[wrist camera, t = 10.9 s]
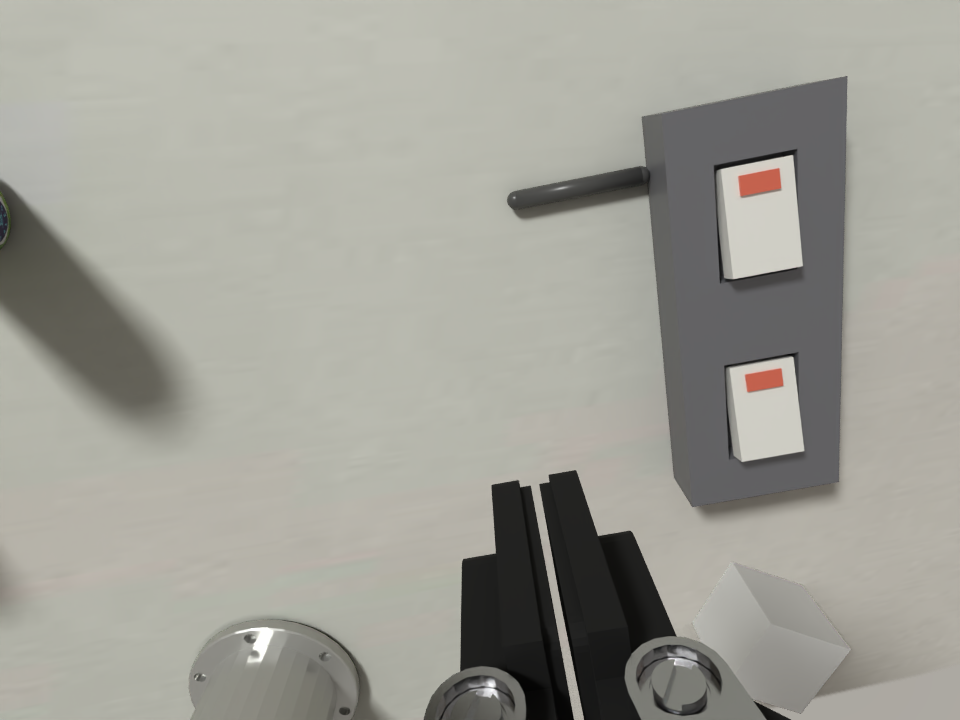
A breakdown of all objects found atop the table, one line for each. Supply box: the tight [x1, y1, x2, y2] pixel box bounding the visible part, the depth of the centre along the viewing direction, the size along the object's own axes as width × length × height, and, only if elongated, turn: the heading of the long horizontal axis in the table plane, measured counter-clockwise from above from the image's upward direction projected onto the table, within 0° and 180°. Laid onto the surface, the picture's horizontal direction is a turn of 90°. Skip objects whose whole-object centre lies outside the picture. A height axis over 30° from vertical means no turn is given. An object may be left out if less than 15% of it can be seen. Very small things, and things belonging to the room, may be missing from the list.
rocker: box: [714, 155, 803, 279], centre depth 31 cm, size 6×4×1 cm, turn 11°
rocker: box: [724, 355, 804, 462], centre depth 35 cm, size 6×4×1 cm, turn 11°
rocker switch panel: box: [507, 76, 847, 507], centre depth 35 cm, size 23×17×4 cm
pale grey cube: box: [692, 562, 851, 714], centre depth 41 cm, size 6×6×6 cm
